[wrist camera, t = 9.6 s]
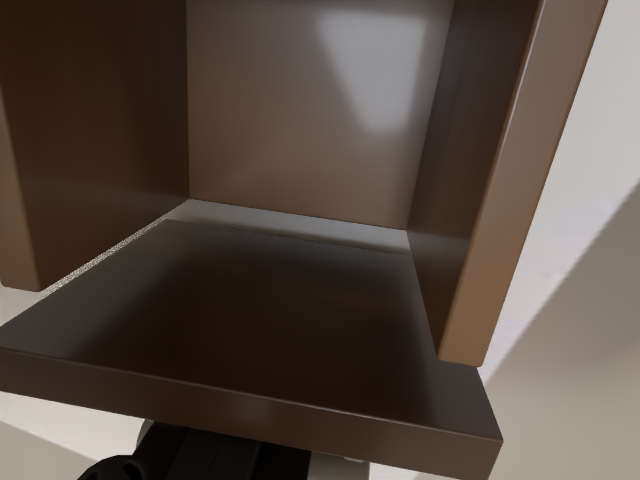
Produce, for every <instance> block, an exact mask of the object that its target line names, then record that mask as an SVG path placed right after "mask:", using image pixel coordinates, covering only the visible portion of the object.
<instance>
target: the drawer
mask: <svg viewBox="0 0 640 480" xmlns="http://www.w3.org/2000/svg"><path fill="white" fill-rule="evenodd" d="M607 3H608V0H0V281H1V284H2V286H4V287H9V288H15V289H21V290H27V291H33V292H40V291H42V290H44V289H46V288H47V287H49V286H50V285H52V284H54V283H55V282H57V281H59V280H60V279H62V278H63V277H65V276H67V275H68V274H70V273H71V272H73V271H75V270H76V269H78V268H79V267H81V266H83V265H84V264H86V263H87V262H89V261H91V260H92V259H94V258H95V257H97V256H99V255H100V254H102V253H103V252H105V251H107V250H108V249H110V248H112V247H113V246H115V245H116V244H118V243H120V242H121V241H123V240H124V239H126V238H128V237H129V236H131V235H132V234H134V233H136V232H137V231H139V230H140V229H142V228H144V227H145V226H147V225H148V224H150V223H152V222H153V221H155V220H156V219H158V218H160V217H161V216H163V215H164V214H166V213H168V212H169V211H171V210H173V209H174V208H176V207H177V206H179V205H181V204H182V203H184V202H185V201H187V200H189V199H196V200H202V201H209V202H216V203H223V204H229V205H236V206H243V207H250V208H257V209H263V210H270V211H277V212H284V213H291V214H297V215H304V216H311V217H318V218H325V219H331V220H338V221H345V222H352V223H358V224H365V225H372V226H379V227H386V228H392V229H399V230H406V232H407V236H408V240H409V244H410V248H411V252H412V256H406V255H399V254H392V253H386V252H379V251H373V250H366V249H360V248H353V247H346V246H340V245H333V244H327V243H320V242H314V241H307V240H300V239H294V238H287V237H281V236H274V235H268V234H261V233H254V232H248V231H241V230H235V229H228V228H221V227H215V226H208V225H202V224H195V223H189V222H182V221H175V220H169V219H165V220H164V221H162V222H161V223H159V224H158V225H156V226H155V227H153V228H152V229H150V230H148V231H147V232H145V233H144V234H142V235H141V236H139V237H138V238H136V239H135V240H133V241H131V242H130V243H128V244H127V245H125V246H124V247H122V248H121V249H119V250H118V251H116V252H115V253H113V254H111V255H110V256H108V257H107V258H105V259H104V260H102V261H101V262H99V263H98V264H96V265H95V266H93V267H91V268H90V269H88V270H87V271H85V272H84V273H82V274H81V275H79V276H78V277H76V278H75V279H73V280H71V281H70V282H68V283H67V284H65V285H64V286H62V287H61V288H59V289H58V290H56V291H55V292H53V293H51V294H50V295H48V296H47V297H45V298H44V299H42V300H41V301H39V302H38V303H36V304H35V305H33V306H31V307H30V308H28V309H27V310H25V311H24V312H22V313H21V314H19V315H18V316H16V317H15V318H13V319H11V320H10V321H8V322H7V323H5V324H4V325H2V326H1V327H0V391H3V392H8V393H13V394H18V395H23V396H29V397H34V398H39V399H44V400H49V401H55V402H60V403H65V404H70V405H75V406H81V407H86V408H91V409H96V410H101V411H107V412H112V413H117V414H122V415H127V416H133V417H138V418H143V419H145V421H144V423H143V425H142V427H141V430H140V433H139V436H138V439H137V444H136V448H137V446H138V445H139V443H140V442H141V440H142V439H143V437H144V435H145V434H146V432H147V431H148V429H149V428H150V426H151V424H153V422H154V421H159V422H164V423H169V424H174V425H179V426H185V427H190V428H195V429H200V430H205V431H211V432H216V433H221V434H226V435H231V436H237V437H242V438H247V439H252V440H257V441H263V442H268V443H273V444H278V445H283V446H289V447H294V448H299V449H304V450H310V451H312V455H311V461H310V468H309V474H308V480H369V470H370V462H372V463H377V464H382V465H388V466H393V467H398V468H403V469H408V470H414V471H419V472H425V473H430V474H434V475H440V476H445V477H450V478H456V479H460V480H488V478H489V475H490V473H491V471H492V469H493V466H494V464H495V461H496V459H497V456H498V454H499V452H500V449H501V447H502V444H503V437H502V435H501V432H500V429H499V427H498V424H497V421H496V418H495V416H494V413H493V410H492V408H491V405H490V403H489V400H488V397H487V394H486V392H485V389H484V386H483V384H482V381H481V378H480V376H479V373H478V370H477V367H481V366H482V364H483V361H484V358H485V355H486V353H487V350H488V347H489V344H490V341H491V338H492V335H493V332H494V329H495V327H496V324H497V321H498V318H499V315H500V312H501V309H502V306H503V303H504V301H505V298H506V295H507V292H508V289H509V286H510V283H511V280H512V277H513V274H514V272H515V269H516V266H517V263H518V260H519V257H520V254H521V251H522V248H523V246H524V243H525V240H526V237H527V234H528V231H529V228H530V225H531V222H532V220H533V217H534V214H535V211H536V208H537V205H538V202H539V199H540V196H541V193H542V191H543V188H544V185H545V182H546V179H547V176H548V173H549V170H550V167H551V165H552V162H553V159H554V156H555V153H556V150H557V147H558V144H559V141H560V139H561V136H562V133H563V130H564V127H565V124H566V121H567V118H568V115H569V112H570V110H571V107H572V104H573V101H574V98H575V95H576V92H577V89H578V86H579V84H580V81H581V78H582V75H583V72H584V69H585V66H586V63H587V60H588V58H589V55H590V52H591V49H592V46H593V43H594V40H595V37H596V34H597V31H598V29H599V26H600V23H601V20H602V17H603V14H604V11H605V8H606V5H607Z"/></svg>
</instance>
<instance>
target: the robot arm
mask: <svg viewBox="0 0 640 480" xmlns="http://www.w3.org/2000/svg"><path fill="white" fill-rule="evenodd" d="M311 455H312V451H310V450H304V449H299V448H294V447H289V446H283V445H278V444H273V443H268V442H263V441H257V440H252V439H247V438H242V437H237V436H231V435H226V434H221V433H216V432H211V431H205V430H200V429H195V428H190V427H185V426H179V425H174V424H169V423H164V422H159V421H154V422H153V424H151V426H150V428H149V429H148V431H147V432H146V434H145V435H144V437H143V439H142V440H141V442H140V443H139V445H138V446H137V448H136V450H135V451H134V453H133V454H132V455H116V456H113V457H109V458H106V459H103V460H101V461H99V462H98V463H96V464H94V465H93V466H91V467H90V468H88V469H87V470H86V471H85V472H84V473H83V474H82V475H81V476H80V477H79V478H78V479H77V480H308V474H309V468H310V461H311Z"/></svg>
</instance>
